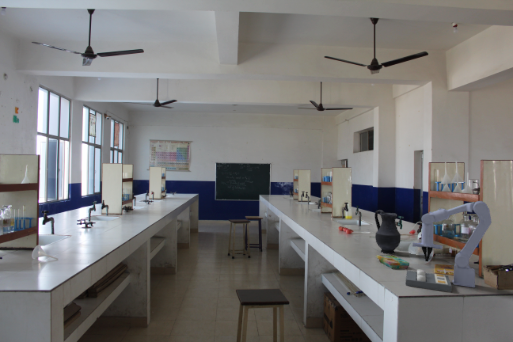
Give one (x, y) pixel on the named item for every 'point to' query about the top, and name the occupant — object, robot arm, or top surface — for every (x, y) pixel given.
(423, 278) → the button
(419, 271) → the button middle
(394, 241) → the pitcher
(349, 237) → the top surface
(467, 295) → the top surface
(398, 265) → the puzzle game
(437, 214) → the robot arm
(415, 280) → the board
